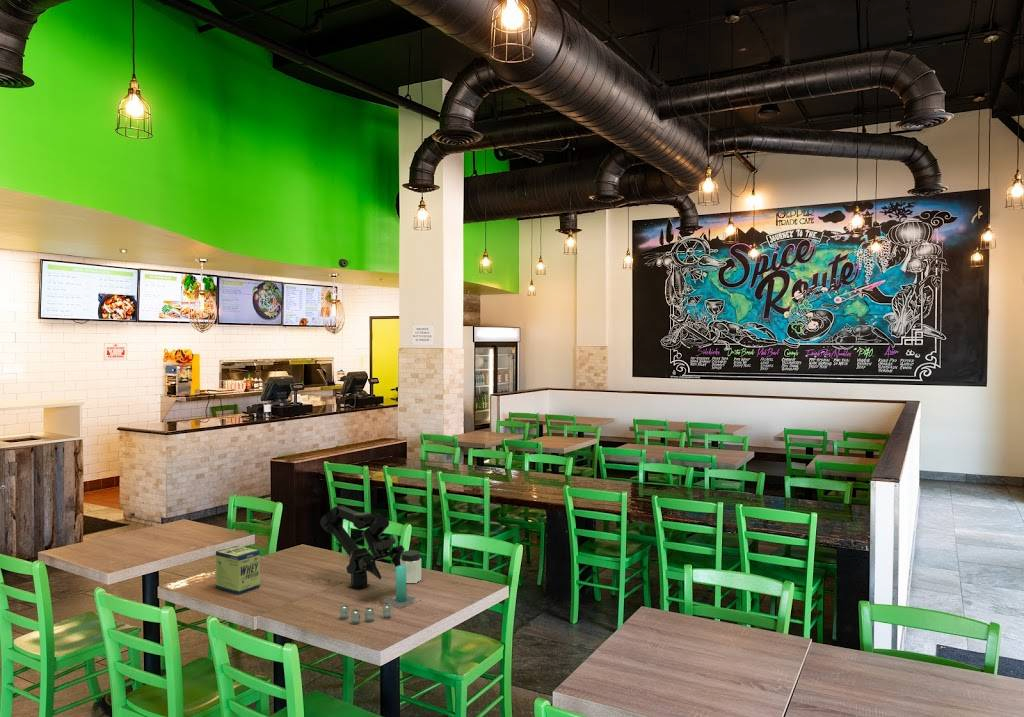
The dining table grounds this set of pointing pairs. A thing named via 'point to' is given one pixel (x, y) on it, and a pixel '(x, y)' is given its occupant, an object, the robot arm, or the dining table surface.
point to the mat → (400, 604)
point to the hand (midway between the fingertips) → (390, 575)
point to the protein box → (237, 569)
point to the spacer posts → (368, 613)
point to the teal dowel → (401, 583)
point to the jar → (411, 565)
